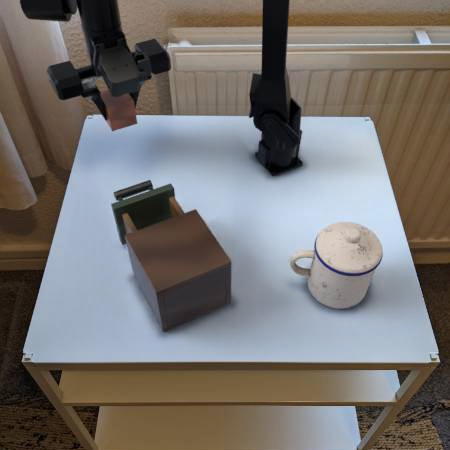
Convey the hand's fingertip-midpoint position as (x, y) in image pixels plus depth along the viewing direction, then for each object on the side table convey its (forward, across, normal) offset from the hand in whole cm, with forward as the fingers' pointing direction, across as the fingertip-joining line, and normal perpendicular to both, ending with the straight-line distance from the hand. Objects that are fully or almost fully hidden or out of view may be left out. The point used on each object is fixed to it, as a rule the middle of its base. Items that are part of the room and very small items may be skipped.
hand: (119, 115), depth 86 cm
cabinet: (+7, -4, -34) cm, 35 cm away
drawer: (+6, -4, -24) cm, 25 cm away
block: (+1, 0, 0) cm, 1 cm away
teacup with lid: (+7, +15, -43) cm, 46 cm away
